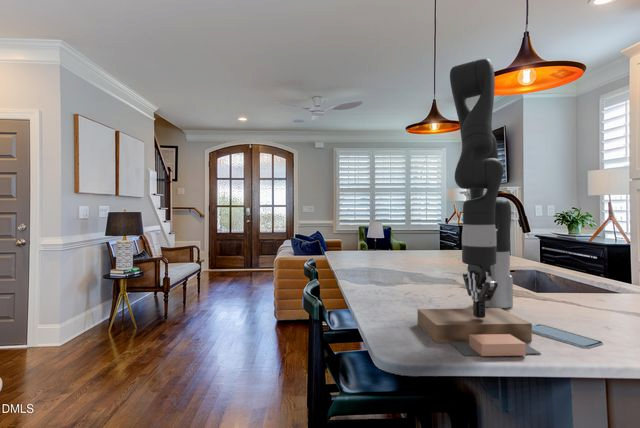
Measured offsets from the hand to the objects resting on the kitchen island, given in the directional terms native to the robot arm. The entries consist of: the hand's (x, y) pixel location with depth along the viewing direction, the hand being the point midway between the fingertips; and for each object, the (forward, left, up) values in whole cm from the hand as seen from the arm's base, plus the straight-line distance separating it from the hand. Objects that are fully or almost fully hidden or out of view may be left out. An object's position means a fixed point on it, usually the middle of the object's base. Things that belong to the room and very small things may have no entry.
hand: (479, 316), depth 90 cm
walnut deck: (+1, -3, -5) cm, 6 cm away
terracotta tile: (+1, +10, -2) cm, 10 cm away
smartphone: (-19, +1, -5) cm, 20 cm away
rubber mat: (+1, +8, -5) cm, 9 cm away
